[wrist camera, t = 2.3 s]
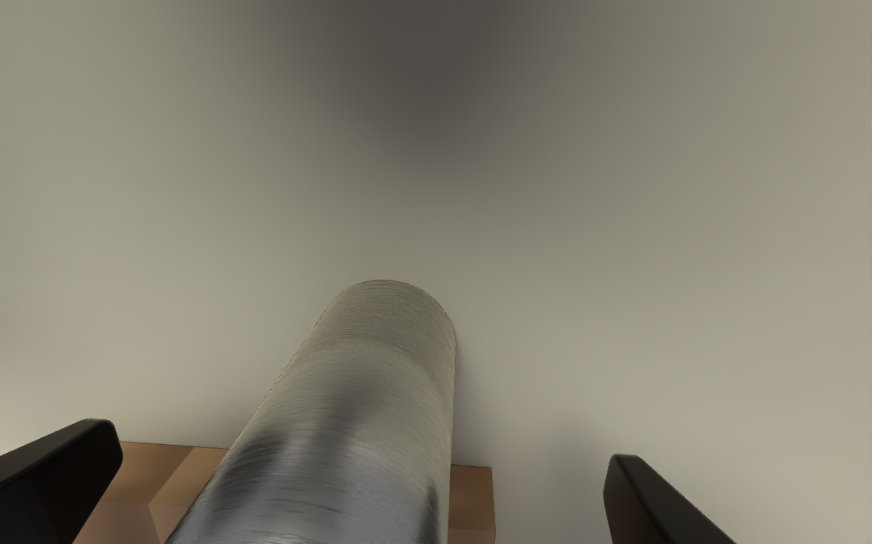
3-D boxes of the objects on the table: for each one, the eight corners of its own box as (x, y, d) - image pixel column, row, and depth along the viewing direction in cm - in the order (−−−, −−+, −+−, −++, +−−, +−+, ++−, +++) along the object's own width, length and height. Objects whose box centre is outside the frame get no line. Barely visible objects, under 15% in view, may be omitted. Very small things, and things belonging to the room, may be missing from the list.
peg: (458, 283, 10) (438, 738, 3) (453, 403, 12) (429, 929, 4) (314, 276, 10) (-55, 685, 3) (325, 395, 12) (85, 883, 4)
